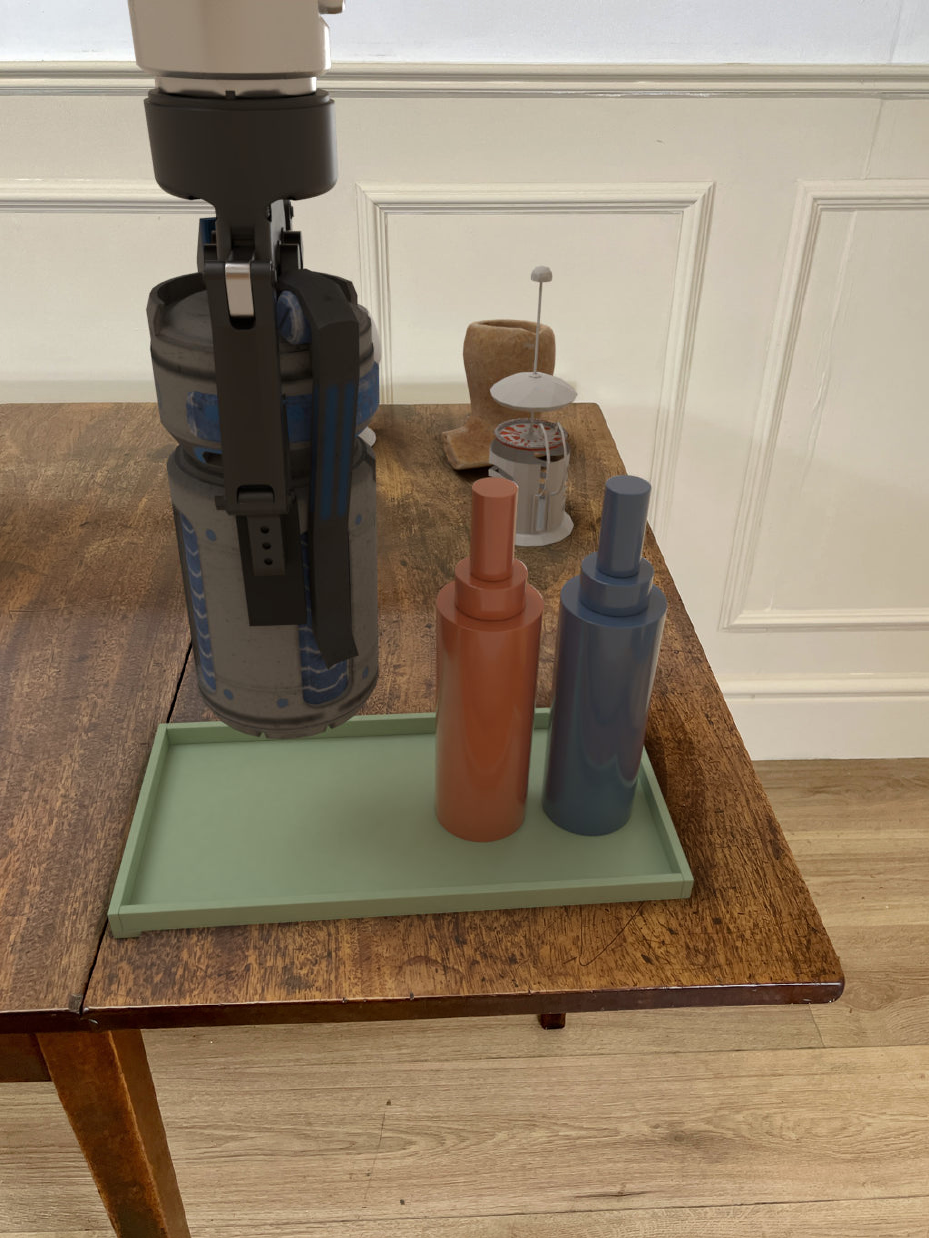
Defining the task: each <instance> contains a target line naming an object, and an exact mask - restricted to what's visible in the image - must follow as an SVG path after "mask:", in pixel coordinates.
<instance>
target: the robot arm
mask: <svg viewBox="0 0 929 1238" xmlns="http://www.w3.org/2000/svg"><path fill="white" fill-rule="evenodd" d="M126 1H127V8H128V15H129V22H130V29H131V36H132V42H133V49H134V57H135V64H136V66H137V67H138V68H139V69H141V70H142V71H143V72H144V73H145V74H146V75H149V76H153V78H154V85H155V88H151V89H149V90H148V91H147V97H146V98H145V97H144V99H143V106H144V107H143V108H144V113H145V119H146V127H147V134H148V135H147V136H148V140H149V141H148V142H149V147H150V154H151V161H152V168H153V175H154V179H155V182H156V184H157V185H158V186H159V188H160V189H161V190H162V191H163V192H165V193H166V194H168V195H171V196H172V197H176V198H179V199H182V200H186V201H197V200H198V201H199V200H203V201H205V202H206V203H208V204H209V205H211V206H212V207H213V208H214V213H215V217H216V222H215V224H216V231H212V232H211V244H204V270H203V272H202V276H203V283H204V284H206V289H207V297H208V304H209V311H210V318H211V326H212V338H213V350H214V362H215V375H216V387H217V399H218V411H219V424H220V436H221V448H222V461H223V473H224V485H225V495H214V500H215V506H216V509H217V510H226V513H228V516H235V517H236V524H237V532H238V540H239V548H240V556H241V563H242V571H243V579H244V587H245V595H246V602H247V610H248V618H249V626H276V625H305V624H307V605H306V594H305V582H304V571H303V559H302V547H301V536H300V524H299V513H298V501H297V495H295V491H294V489H292V482H291V457H290V442H289V433H288V422H287V410H286V404H284V405H283V401H282V399H283V400H286V393H285V394H283V395H282V384H281V368H280V352H279V336H278V329H279V328H278V322H277V310H276V304H277V301H278V299H279V297H276V290H275V288H274V286H275V284H277V278H278V277H279V276H280V275H281V274H282V273H283V272H284V271H287V270H296V269H304V241H303V232H302V230H294V229H293V218H294V217H295V210H294V205H292V201H294V202H298V201H302V200H309V199H312V198H316V197H319V196H322V195H325V194H327V193H328V192H330V191H331V190H332V189H334V187H335V186H336V184H337V183H338V179H339V165H338V164H339V161H338V145H337V144H338V143H337V124H336V123H337V120H336V104H335V100H334V99H333V98H330V92H329V91H327V90H326V89H322V88H317V84H318V83H317V82H318V81H317V80H318V79H317V78H318V77H322V76H324V75H326V74H327V73H328V72H329V71H330V69H331V68H332V47H331V29H330V28H331V27H330V26H329V24H328V23H327V21H325V19H324V17H322V15H339V14H342V13H343V11H344V10H345V9H346V0H126Z"/></svg>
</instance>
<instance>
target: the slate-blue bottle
mask: <svg viewBox="0 0 929 1238" xmlns="http://www.w3.org/2000/svg"><path fill="white" fill-rule="evenodd" d="M652 487H653V486H652V484H651V482H649V481H648V480H647V479H646V478H643V477H640V476H637V475H629V474H619V475H614V476H611V477H609V478H607V480H606V481H605V483H604V492H603V500H602V507H601V508H602V509H601V516H600V517H601V518H600V524H599V525H600V527H599V533H598V541H597V542H598V543H597V551H593V552H591V553H589V554H587V555H586V556H585V557H584V558H583V559H582V561H581V564H580V571H579V572H580V573H579V574H577V575H575V576H572V577H571V578H569V579H568V580H567V581H565V583H564V584H563V585H562V587H561V589H560V592H559V601H558V612H557V624H556V635H555V644H554V655H553V665H552V675H551V676H552V677H551V687H550V697H549V707H548V708H549V717H548V728H547V738H546V749H545V759H544V770H543V781H542V791H541V804H542V807H543V810H544V812H545V814H546V815H547V816H548V818H549V819H550V820H551V821H552V822H553V823H555V824H556V825H557V826H559V827H560V828H562V829H564V830H566V831H568V832H571V833H574V834H577V835H583V836H602V835H607V834H610V833H613V832H615V831H617V830H619V829H620V828H622V827H623V826H624V825H625V824H626V823H627V822H628V821H629V819H630V817H631V814H632V810H633V804H634V798H635V793H636V787H637V781H638V775H639V769H640V763H641V758H642V752H643V746H644V747H645V739H646V733H647V727H648V723H649V716H650V712H651V711H650V710H651V705H652V699H653V692H654V687H655V682H656V676H657V669H658V664H659V658H660V652H661V647H662V640H663V635H664V628H665V623H666V618H667V611H668V599H667V597H666V595H665V593H664V592H663V590H662V589H661V588H660V587H658V585H656V584H655V583H654V577H655V569H654V566H653V564H652V563H651V562H650V560H648V559H647V558H645V557H643V549H644V543H645V537H646V529H647V523H648V516H649V509H650V502H651V496H652Z"/></svg>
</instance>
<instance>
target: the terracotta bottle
mask: <svg viewBox="0 0 929 1238" xmlns="http://www.w3.org/2000/svg"><path fill="white" fill-rule="evenodd" d="M517 505H518V486H517V484H516V483H514V482H513V481H511V480H508V479H504V478H498V477H492V476H489V477H483V478H479V479H478V480H476V481H474V482H473V483H472V485H471V503H470V533H469V535H470V537H469V556H466V557H463V558H462V559H461V560H459V562H457V564H456V565H455V567H454V579H453V580H451V581H449V582H448V583H447V584H445V585H444V586H443V587H441V589H440V590H439V591H438V593H437V595H436V598H435V679H434V680H435V684H434V685H435V687H434V688H435V689H434V690H435V691H434V693H435V694H434V695H435V696H434V697H435V698H434V699H435V700H434V708H435V709H434V712H435V814H436V817H437V819H438V821H439V823H440V824H441V825H442V827H443V828H444V829H446V830H447V831H448V832H449V833H451V834H452V835H454V836H456V837H458V838H461V839H464V840H467V841H472V842H493V841H497V840H501V839H504V838H506V837H508V836H510V835H511V834H513V833H514V832H516V831H517V830H518V829H519V828H520V827H521V825H522V824H523V822H524V820H525V818H526V813H527V801H528V790H529V778H530V766H531V754H532V742H533V730H534V718H535V708H536V705H537V694H538V682H539V670H540V669H539V668H540V656H541V648H542V647H541V646H542V645H541V644H542V634H543V623H544V610H545V603H544V599H543V596H542V595H541V593H540V592H539V590H537V589H536V588H535V587H534V586H533V585H531V584H530V583H528V582H529V570H528V568H527V566H526V565H525V564H524V562H523V561H521V560H519V559H518V558H516V557H515V553H516V551H515V549H516V545H515V538H516V522H517Z"/></svg>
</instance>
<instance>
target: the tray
mask: <svg viewBox="0 0 929 1238" xmlns="http://www.w3.org/2000/svg"><path fill="white" fill-rule="evenodd" d="M548 717H549V707H535V718H534V730H533V742H532V754H531V766H530V778H529V790H528V801H527V813H526V818H525V820H524V822H523V824H522V825H521V827H520V828H519V829H518V830H517V831H516V832H514V833H513V834H511V835H510V836H508V837H506V838H504V839H501V840H497V841H493V842H472V841H467V840H464V839H461V838H458V837H456V836H454V835H452V834H451V833H449V832H448V831H447V830H446V829H444V828H443V827H442V825H441V824H440V823H439V821H438V819H437V817H436V814H435V711H434V712H412V713H411V712H409V713H386V714H361V715H360V714H359V715H355V716H354V717H352V718H351V719H349V720H348V721H346V722H345V723H343V724H342V725H340V726H337V727H335V728H333V729H331V728H330V727H329V726H327V729H326V732H323V733H319V734H316V735H313V736H307V737H302V738H294V739H270V738H266V737H265V735H264V733H263V732H262V734H261V736H260V737H256V736H251V735H247V734H244V733H242V732H239V731H237V730H234V729H232V728H231V727H229V726H228V725H226V724H224V723H223V722H222V721H221V720H218V721H217V720H215V721H213V720H212V721H193V722H192V721H191V722H189V721H188V722H170V723H168V722H165V723H164V722H163V723H158V726H157V729H156V732H155V736H154V740H153V744H152V748H151V751H150V756H149V758H148V762H147V765H146V768H145V769H146V770H145V773H144V776H143V781H142V785H141V788H140V791H139V796H138V799H137V803H136V807H135V810H134V814H133V818H132V822H131V825H130V828H129V832H128V835H127V836H128V837H127V840H126V844H125V847H124V851H123V855H122V859H121V862H120V865H119V870H118V873H117V877H116V880H115V884H114V887H113V892H112V896H111V899H110V902H109V906H108V910H107V913H106V915H107V919H108V923H109V925H110V929H111V933H112V936H113V939H128V938H129V939H130V938H141V935H142V932H143V931H144V932H146V931H147V932H148V931H160V930H161V931H163V930H164V931H165V930H178V929H194V928H195V929H196V928H213V927H225V926H226V927H228V926H230V927H231V926H243V925H247V926H248V925H259V924H260V925H263V924H277V923H291V922H292V923H293V922H294V923H295V922H311V921H327V920H330V921H331V920H343V919H360V918H361V919H363V918H376V917H379V918H380V917H394V916H395V917H396V916H411V915H427V914H444V913H459V912H477V911H478V912H479V911H493V910H510V909H528V908H541V907H542V908H543V907H544V908H545V907H559V906H576V905H577V906H578V905H579V906H580V905H593V904H594V905H595V904H608V903H609V904H610V903H625V902H626V903H627V902H644V901H645V902H646V901H658V900H678V899H690V898H691V894H692V892H693V891H692V890H693V887H694V883H695V879H694V876H693V873H692V870H691V868H690V865H689V862H688V860H687V857H686V854H685V851H684V849H683V847H682V843H681V841H680V839H679V836H678V833H677V830H676V828H675V825H674V823H673V820H672V818H671V817H672V816H671V813H670V812H669V808H668V806H667V804H666V801H665V799H664V795H663V793H662V790H661V787H660V785H659V782H658V779H657V777H656V775H655V771H654V769H653V766H652V764H651V761H650V758H649V756H648V753H647V750H646V747H645V745H644V746H643V752H642V758H641V763H640V769H639V775H638V781H637V787H636V793H635V798H634V804H633V810H632V814H631V817H630V819H629V821H628V822H627V823H626V824H625V825H624V826H623V827H622V828H620V829H619V830H617V831H615V832H613V833H610V834H607V835H602V836H583V835H577V834H574V833H571V832H568V831H566V830H564V829H562V828H560V827H559V826H557V825H556V824H555V823H553V822H552V821H551V820H550V819H549V818H548V816H547V815H546V814H545V812H544V810H543V807H542V804H541V791H542V781H543V770H544V759H545V749H546V738H547V728H548Z"/></svg>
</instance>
